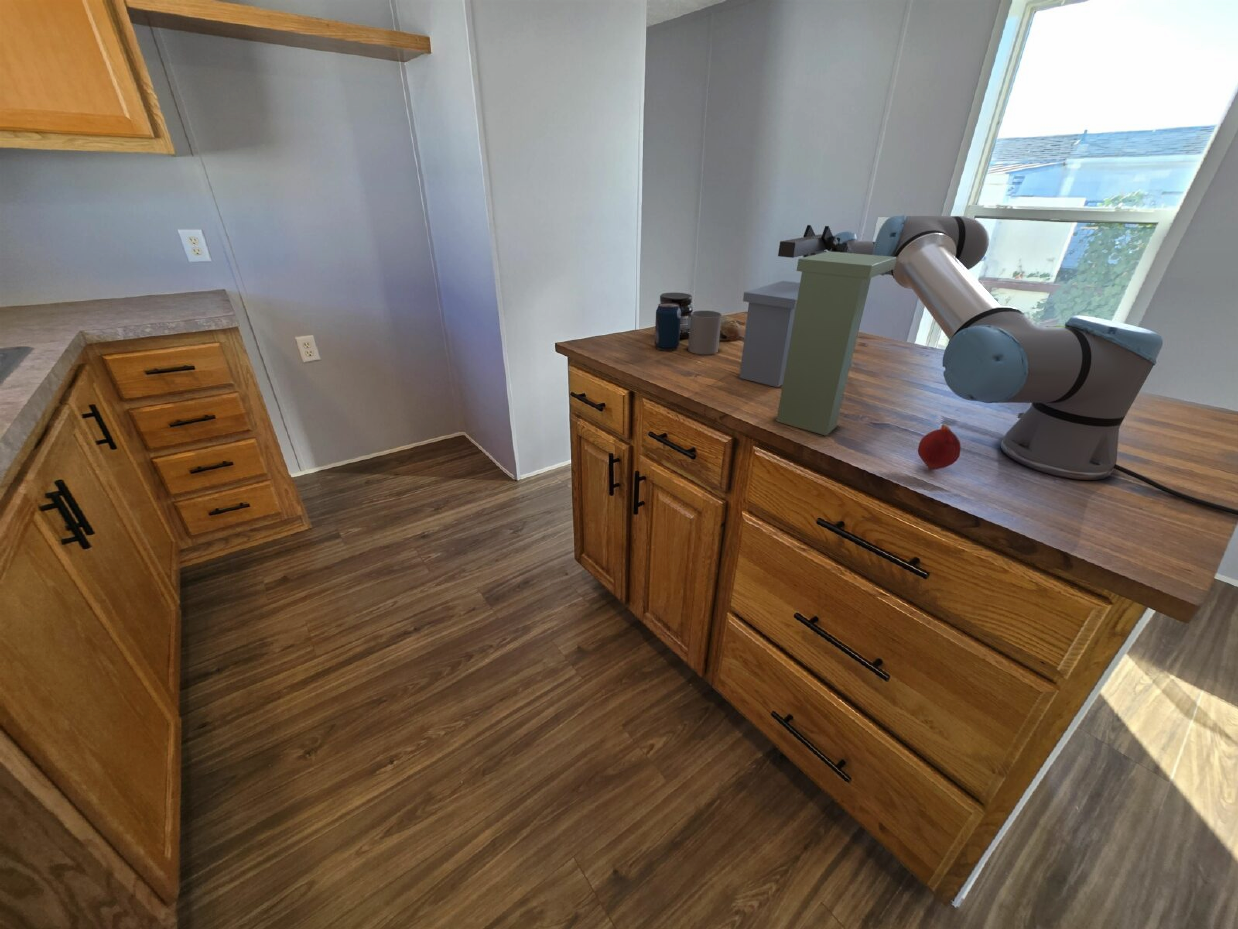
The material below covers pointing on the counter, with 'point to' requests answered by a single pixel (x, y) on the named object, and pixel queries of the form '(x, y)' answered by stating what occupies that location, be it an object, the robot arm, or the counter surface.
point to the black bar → (801, 246)
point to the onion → (939, 448)
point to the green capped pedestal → (825, 336)
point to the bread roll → (729, 329)
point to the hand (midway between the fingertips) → (815, 231)
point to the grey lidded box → (768, 332)
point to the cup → (704, 332)
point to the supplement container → (685, 307)
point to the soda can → (667, 326)
